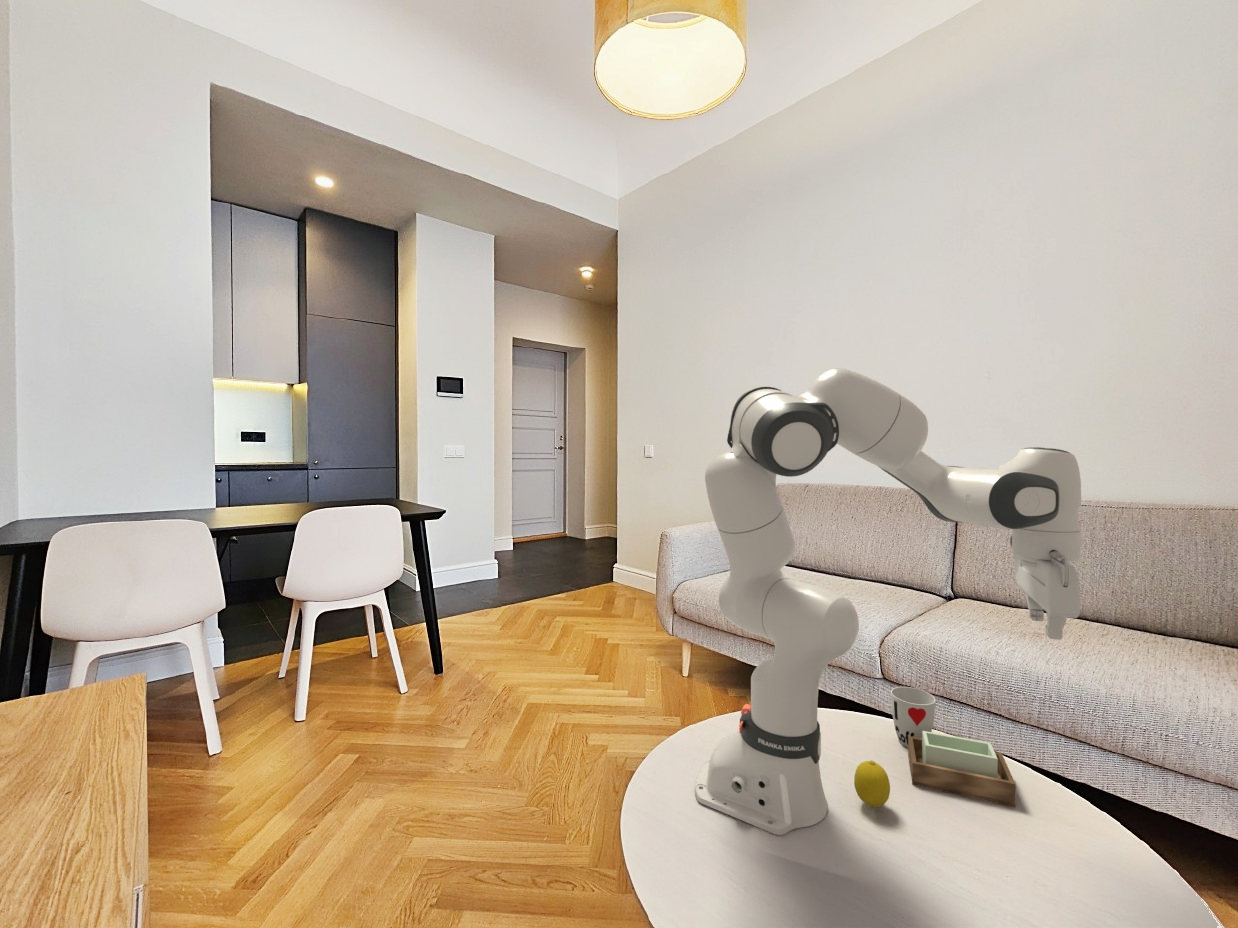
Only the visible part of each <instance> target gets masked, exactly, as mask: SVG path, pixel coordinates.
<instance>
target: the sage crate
mask: <svg viewBox="0 0 1238 928" xmlns="http://www.w3.org/2000/svg"><path fill="white" fill-rule="evenodd" d="M995 752H996V751H995V749H994V748H993V745H992V743H991V742H989V741H982V740H976V739H971V738H966V737H961V736H960V737H959V736H954V735H949V734H943V733H940V732H939V733H937V732H933V731H932V732H927V731H922V762H923V763H925V764H930V765H935V766H940V767H944V768H949V769H954V770H959V771H964V772H969V773H974V774H979V775H984V776H988V777H993V778H998V758H997V756H996V754H995Z"/></svg>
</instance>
